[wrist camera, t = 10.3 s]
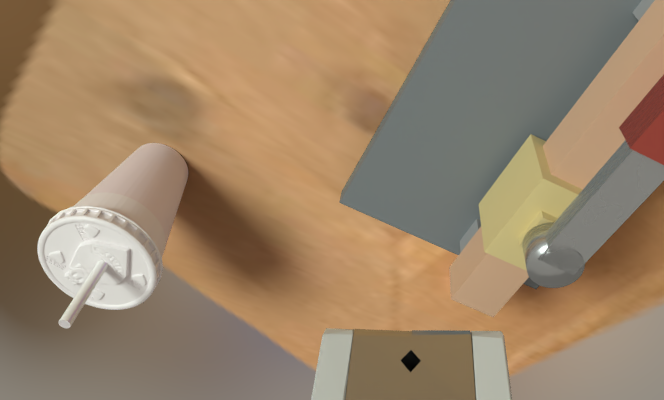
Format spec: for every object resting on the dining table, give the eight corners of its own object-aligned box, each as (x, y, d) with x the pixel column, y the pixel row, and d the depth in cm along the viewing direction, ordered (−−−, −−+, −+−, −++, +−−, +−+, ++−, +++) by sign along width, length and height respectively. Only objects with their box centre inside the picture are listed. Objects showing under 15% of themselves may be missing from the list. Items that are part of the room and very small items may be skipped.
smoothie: (229, 184, 41) (152, 350, 29) (157, 222, 43) (60, 389, 32) (163, 105, 38) (50, 254, 27) (90, 151, 41) (-41, 305, 29)
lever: (557, 271, 32) (565, 301, 31) (510, 250, 32) (514, 279, 30) (760, 52, 25) (786, 75, 23) (701, 21, 25) (723, 41, 23)
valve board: (525, -131, 29) (549, -104, 23) (774, 6, 31) (853, 62, 25) (341, 191, 40) (327, 263, 34) (533, 276, 42) (550, 358, 36)
